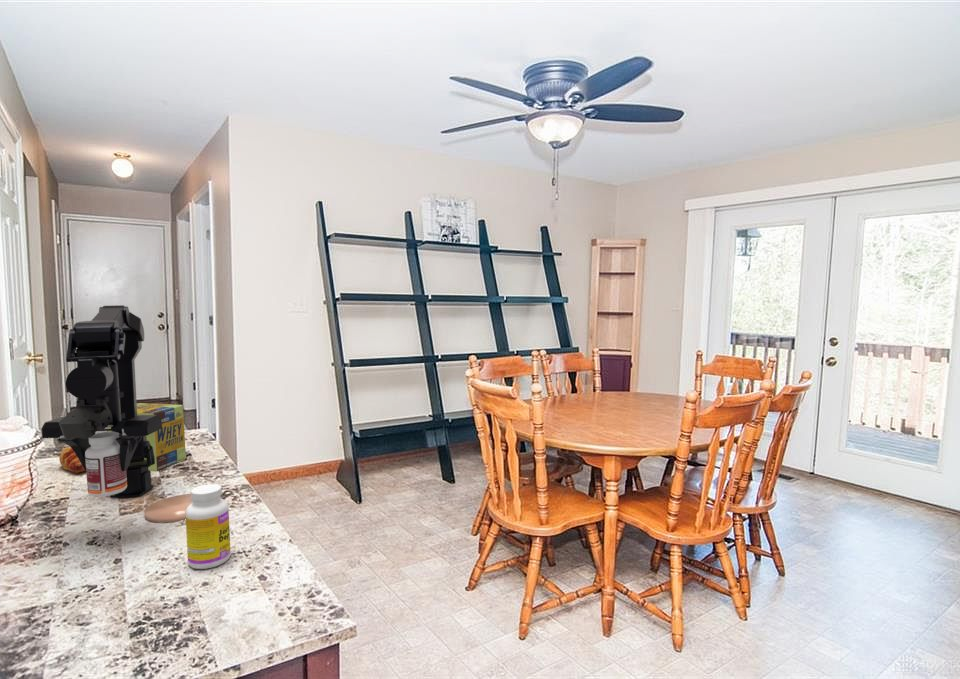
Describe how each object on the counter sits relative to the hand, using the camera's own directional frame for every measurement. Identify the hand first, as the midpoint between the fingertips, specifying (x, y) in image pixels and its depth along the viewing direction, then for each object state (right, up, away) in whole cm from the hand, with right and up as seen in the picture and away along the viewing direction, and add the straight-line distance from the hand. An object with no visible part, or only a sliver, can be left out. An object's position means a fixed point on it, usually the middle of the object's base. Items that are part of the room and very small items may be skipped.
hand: (106, 470), depth 102 cm
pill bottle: (0, -4, 0) cm, 4 cm away
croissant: (-37, -10, +44) cm, 58 cm away
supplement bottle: (+24, -14, -8) cm, 29 cm away
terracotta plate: (+6, -12, +14) cm, 19 cm away
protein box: (-20, -9, +45) cm, 50 cm away
